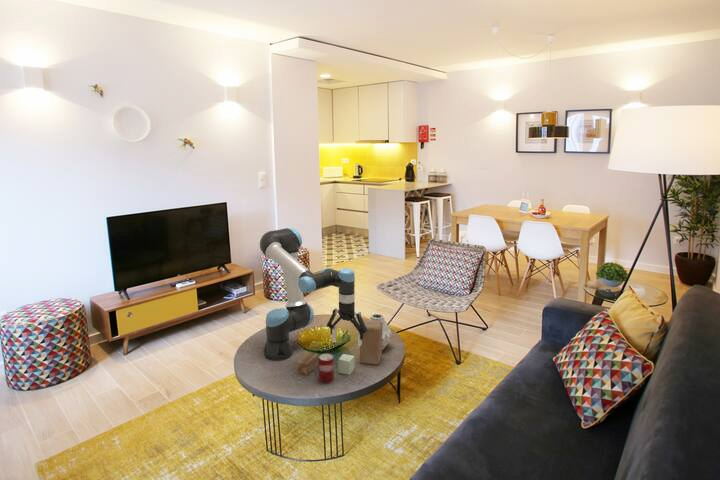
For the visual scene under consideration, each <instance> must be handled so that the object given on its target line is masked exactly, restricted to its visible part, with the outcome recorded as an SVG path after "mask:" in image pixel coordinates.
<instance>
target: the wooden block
mask: <svg viewBox="0 0 720 480" xmlns="http://www.w3.org/2000/svg"><path fill="white" fill-rule="evenodd" d="M363 321H364V324H365V326H366V328H367V332H366V333H363V339H362V345H361V346H360V347H359V363H361V364H367V365H374V366H375V365H377V366H378V365H380V362H381V358H382V356H383V355H382V353H383V350H382V322H381V321H371V320H369V319H363Z"/></svg>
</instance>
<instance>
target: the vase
mask: <svg viewBox="0 0 720 480" xmlns="http://www.w3.org/2000/svg"><path fill="white" fill-rule="evenodd" d="M368 320H371V321H381V322H382V351H384V349H385V348H386V346H387V345H388V343H389V342H390V339H391V337H392V336H393V333H392V330H391V328H389V326H388V323H387V321H386V320H385V318H384V315H382V314H380V313H374V314H371V316H370V317H369V319H368Z"/></svg>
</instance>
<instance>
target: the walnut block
mask: <svg viewBox="0 0 720 480" xmlns="http://www.w3.org/2000/svg"><path fill="white" fill-rule="evenodd" d="M318 358H319V353H316V352H308V353H306V355H304V356H303V357H302V358H301V359H299V361H297V366H296V367H297V375H298V374H299V375H302V376H306V377H307V376H308V375H309V374H310V373H311V372H312V371H314V369H315V368H316V367H318Z"/></svg>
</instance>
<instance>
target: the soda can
mask: <svg viewBox="0 0 720 480" xmlns="http://www.w3.org/2000/svg"><path fill="white" fill-rule="evenodd" d="M317 367H318V370H317V372H318V381H319V383H321V384H324V385H327V384H331V383H333V382H334V380H335V356H334V355H333V354H330V353H322V354H321V355H318V365H317Z"/></svg>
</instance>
